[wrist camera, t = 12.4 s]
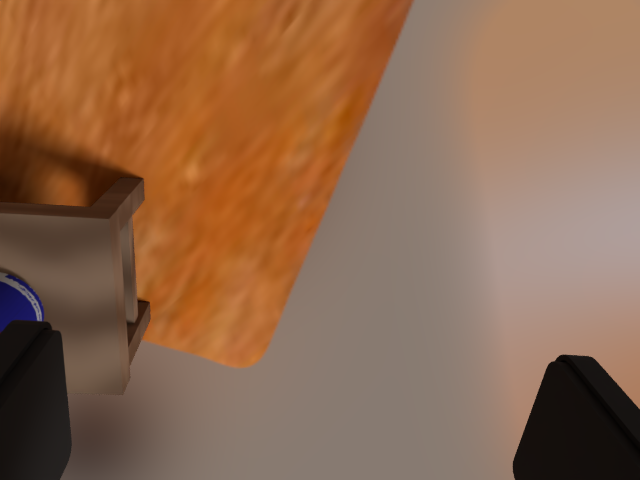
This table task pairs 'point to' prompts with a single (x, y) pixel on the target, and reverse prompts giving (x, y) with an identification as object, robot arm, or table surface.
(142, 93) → the table surface
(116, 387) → the stool
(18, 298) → the beverage can
